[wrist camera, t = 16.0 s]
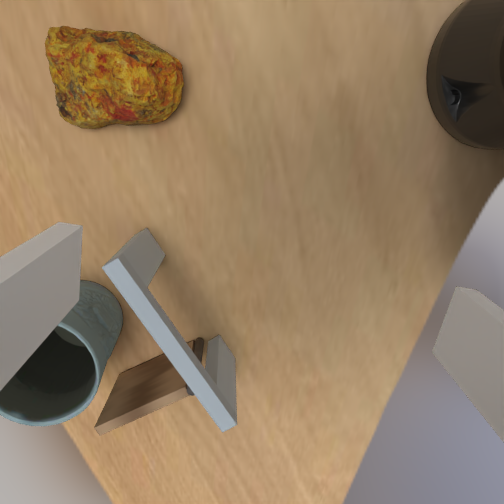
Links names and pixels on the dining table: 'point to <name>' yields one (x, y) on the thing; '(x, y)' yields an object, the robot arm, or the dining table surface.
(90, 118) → the rock
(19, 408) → the teal cup
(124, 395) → the door
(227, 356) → the grey rectangular arch
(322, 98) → the dining table surface
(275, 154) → the dining table surface
